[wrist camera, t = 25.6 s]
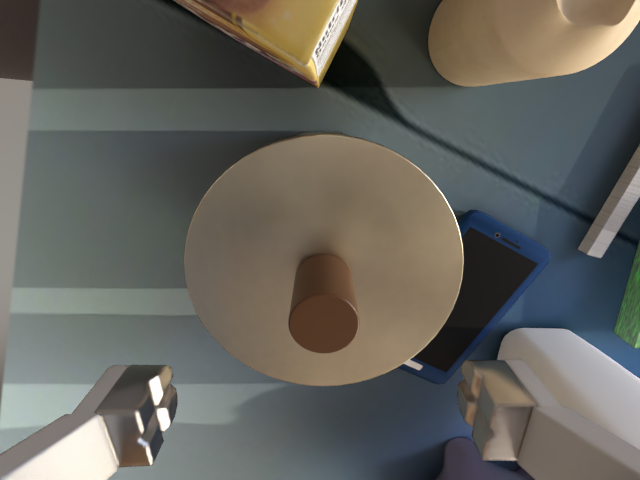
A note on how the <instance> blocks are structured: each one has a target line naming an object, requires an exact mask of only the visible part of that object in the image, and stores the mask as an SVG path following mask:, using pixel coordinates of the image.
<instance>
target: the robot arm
mask: <svg viewBox="0 0 640 480" xmlns="http://www.w3.org/2000/svg"><path fill="white" fill-rule="evenodd" d="M461 373H462V375H463V377H464V380H463V381H461V382H460V383H459V384H458V392H457V397H458V405H459V409H460V412H461V414H462V417H463V419H464V421H465V422H466V423H468V424H469V425H470V426H471V427H473V431H472V439H473V441H474V443H475V445H476V447H477V449H478V451H479V453H480V456H481V458H482V460H483V461H517V463H518V464H519V465H520V466H521V467H522V468H523V469H524V470H525V471H526V472H527V473H528V474H529V475H530V476H532V477H533V478H534V479H535V480H640V449H638V448H636V447H635V446H633V445H631V444H629V443H628V442H626V441H624V440H623V439H621V438H619V437H618V436H616V435H614V434H613V433H611V432H609V431H607V430H606V429H604V428H602V427H601V426H599V425H597V424H596V423H594V422H592V421H591V420H589V419H587V418H585V417H584V416H582V415H580V414H579V413H577V412H575V411H574V410H572V409H570V408H569V407H561V406H560V405H559V403H558V402H557V401H556V400H555V398H554V397H553V396H552V395H551V394H550V392H549V391H548V390H547V389H546V387H545V386H544V385H543V384H542V382H541V381H540V380H539V379H538V378H537V376H536V375H535V374H534V373H533V371H532V370H531V369H530V368H529V366H528V365H527V364H526V363H525V362H524V361H523V360H521V359H501V360H466V361H464V362H463V364H462V368H461ZM172 377H173V374H172V371H171V367H170V366H167V365H113V366H111V367H109V368H108V369H107V370H106V371H105V373H104V374H103V375H102V376H101V378H100V379H99V380H98V381H97V383H96V384H95V385H94V386H93V388H92V389H91V390H90V391H89V393H88V394H87V395H86V396H85V398H84V399H83V400H82V401H81V403H80V404H79V405H78V406H77V408H76V409H75V410H74V411H73V413H72V414H65V415H63V416H62V417H60V418H59V419H57V420H55V421H54V422H52V423H50V424H49V425H47V426H46V427H44V428H42V429H41V430H39V431H37V432H36V433H34V434H32V435H31V436H29V437H28V438H26V439H24V440H23V441H21V442H19V443H18V444H16V445H15V446H13V447H11V448H10V449H8V450H6V451H5V452H3V453H2V454H0V480H107V479H108V478H110V477H111V476H112V475H113V474H114V473H115V472H116V471H117V470H118V467H132V466H152V465H153V463H154V461H155V459H156V456H157V454H158V452H159V450H160V448H161V446H162V444H163V441H164V440H163V436H162V432H163V431H165V430H166V429H167V428H168V427H170V426H171V424H172V421H173V419H174V417H175V413H176V409H177V392H176V388H175V387H173V386H172V385H171V384H170V381H171V379H172Z"/></svg>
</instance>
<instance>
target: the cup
mask: <svg viewBox="0 0 640 480" xmlns="http://www.w3.org/2000/svg"><path fill="white" fill-rule="evenodd" d="M501 359H521V360H523V361H524V362H525V363H526V364H527V365H528V366H529V368H530V369H531V370H532V371H533V373H534V374H535V375H536V376H537V378H538V379H539V380H540V381H541V382H542V384H543V385H544V386H545V387H546V389H547V390H548V391H549V392H550V394H551V395H552V396H553V397H554V398H555V400H556V401H557V402H558V403H559V405H560V406H561V407H569V408H570V409H572V410H574V411H575V412H577V413H579V414H580V415H582V416H584V417H585V418H587V419H589V420H591V421H592V422H594V423H596V424H597V425H599V426H601V427H602V428H604V429H606V430H607V431H609V432H611V433H613V434H614V435H616V436H618V437H619V438H621V439H623V440H624V441H626V442H628V443H629V444H631V445H633V446H635V447H636V448H638V449H640V379H639V378H638V377H636V376H635V375H633V374H632V373H631V372H629V371H628V370H626V369H625V368H624V367H622V366H621V365H619V364H618V363H617V362H615V361H614V360H612V359H611V358H610V357H608V356H607V355H605V354H604V353H603V352H601V351H600V350H598V349H597V348H595V347H594V346H592V345H591V344H589V343H588V342H586V341H585V340H583V339H582V338H580V337H579V336H577V335H576V334H574V333H573V332H571V331H570V330H567V329H556V328H519V329H515V330H512V331H510V332H509V333H508V334H507V335H505V336H504V338H503V340H502V342H501V346H500V349H499V353H498V357H497V360H501Z"/></svg>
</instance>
